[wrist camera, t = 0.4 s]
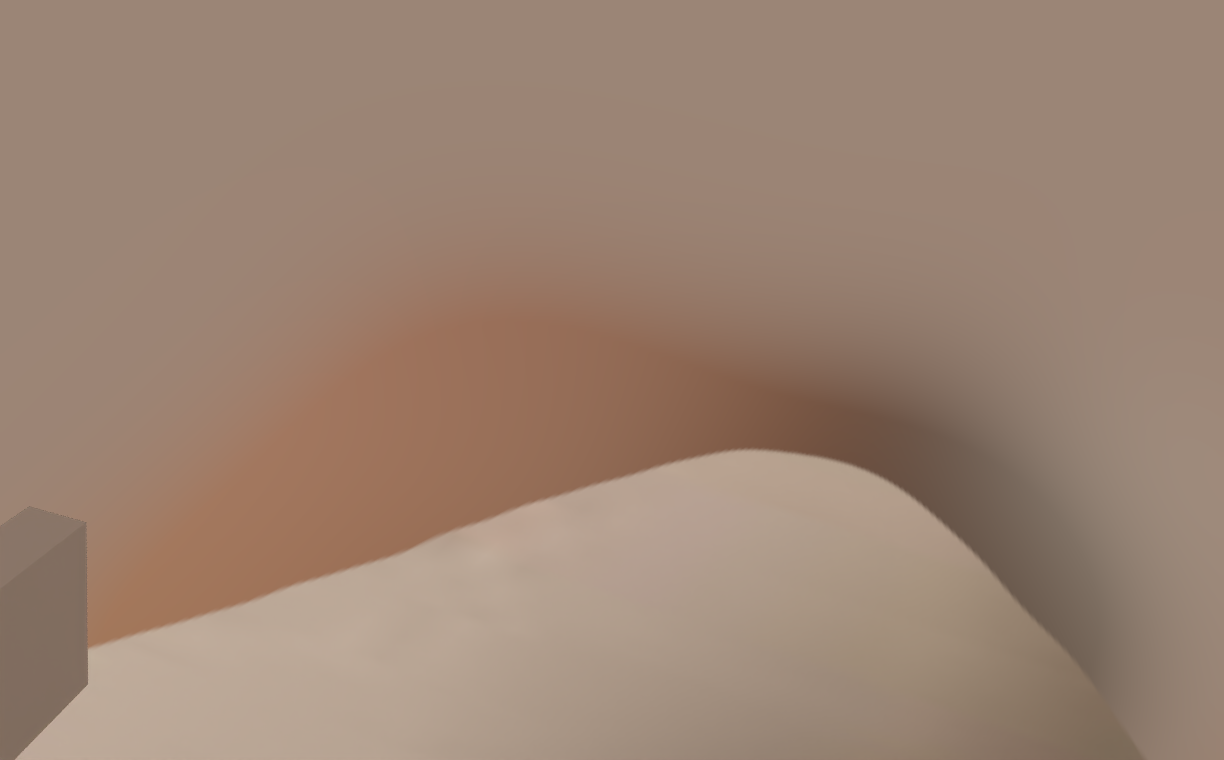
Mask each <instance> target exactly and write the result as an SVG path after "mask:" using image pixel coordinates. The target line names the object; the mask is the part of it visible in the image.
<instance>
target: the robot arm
mask: <svg viewBox="0 0 1224 760" xmlns="http://www.w3.org/2000/svg"><path fill="white" fill-rule="evenodd" d="M86 548H87V547H86V522H83V521H80V520H76V519H73V518H69V517H66V516H62V515H58V514H54V513H51V512H47V511H44V510H40V509H37V508H33V507H27V508H26V509H25V510H23V511H22V512H20V513H19V514H17V515H16V516H14V517H13V518H11V519H10V520H8V521H7V522H6V523H4V524H3V525H1V526H0V760H15V759H16V758H17V756H18V755H19V754H20V753H21V752H22V751H23V750H24V749H25V748H26V747H27V746H28V745H29V744H30V743H31V742H32V741H33V740H34V739H35V738H36V737H37V736H38V735H39V734H40V733H41V732H42V731H43V730H44V729H45V728H46V727H47V726H48V725H49V724H50V723H51V722H52V721H53V719H54V718H55V717H56V716H57V715H58V714H59V713H60V712H61V711H62V710H63V709H64V708H65V707H66V706H67V705H68V704H69V703H70V702H71V701H72V700H73V699H74V698H75V697H76V696H77V695H78V694H79V693H80V692H81V691H82V690H83V689H84V688H85V687H86V686H87V685H88V649H87V555H86V554H87V550H86Z"/></svg>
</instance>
